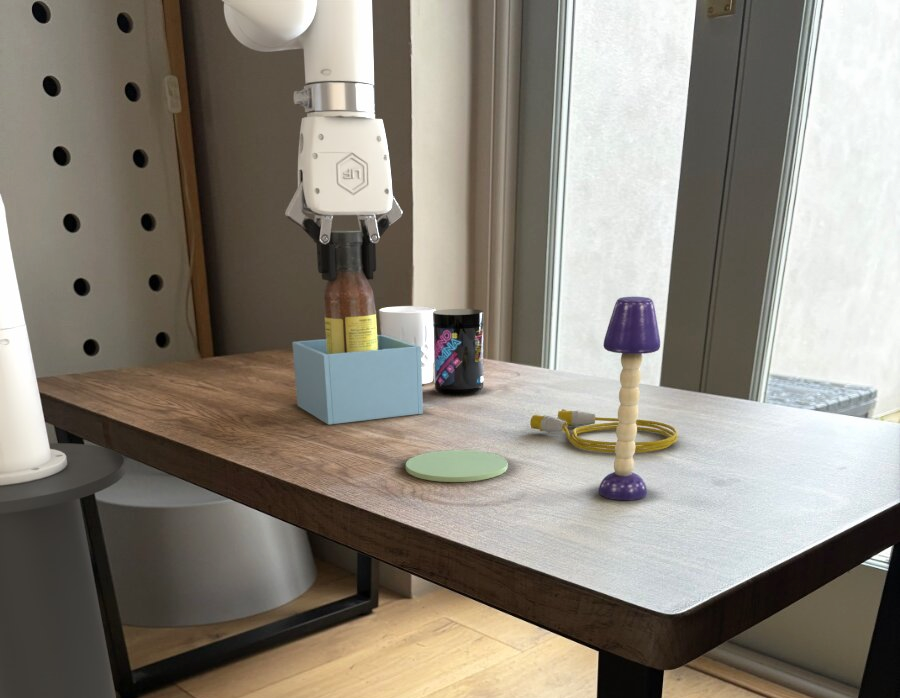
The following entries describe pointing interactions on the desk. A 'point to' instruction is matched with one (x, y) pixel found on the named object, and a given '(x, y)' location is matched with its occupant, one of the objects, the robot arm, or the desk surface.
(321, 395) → the case
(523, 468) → the desk surface
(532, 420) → the extension cord
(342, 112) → the robot arm
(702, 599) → the desk surface
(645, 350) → the toy lamp
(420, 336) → the white cup
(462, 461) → the mat
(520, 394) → the desk surface
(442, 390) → the supplement container
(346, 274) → the sauce bottle
